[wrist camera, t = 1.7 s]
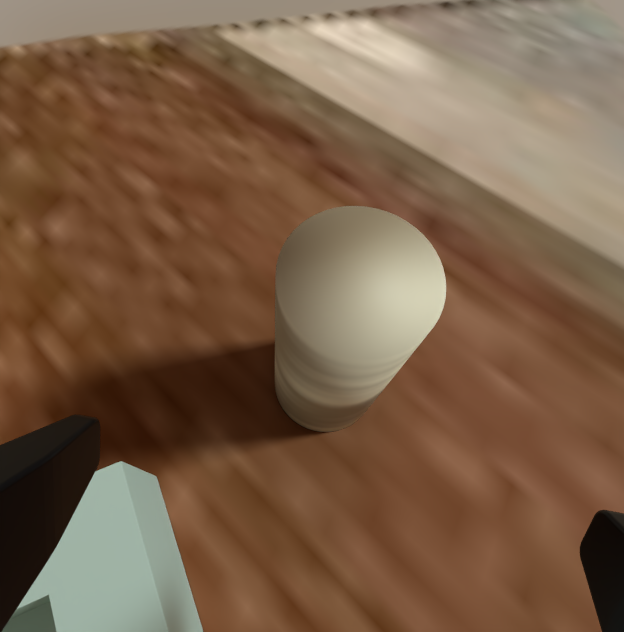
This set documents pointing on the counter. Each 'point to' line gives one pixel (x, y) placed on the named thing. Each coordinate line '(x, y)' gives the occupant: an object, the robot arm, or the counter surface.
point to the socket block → (113, 565)
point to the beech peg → (350, 311)
